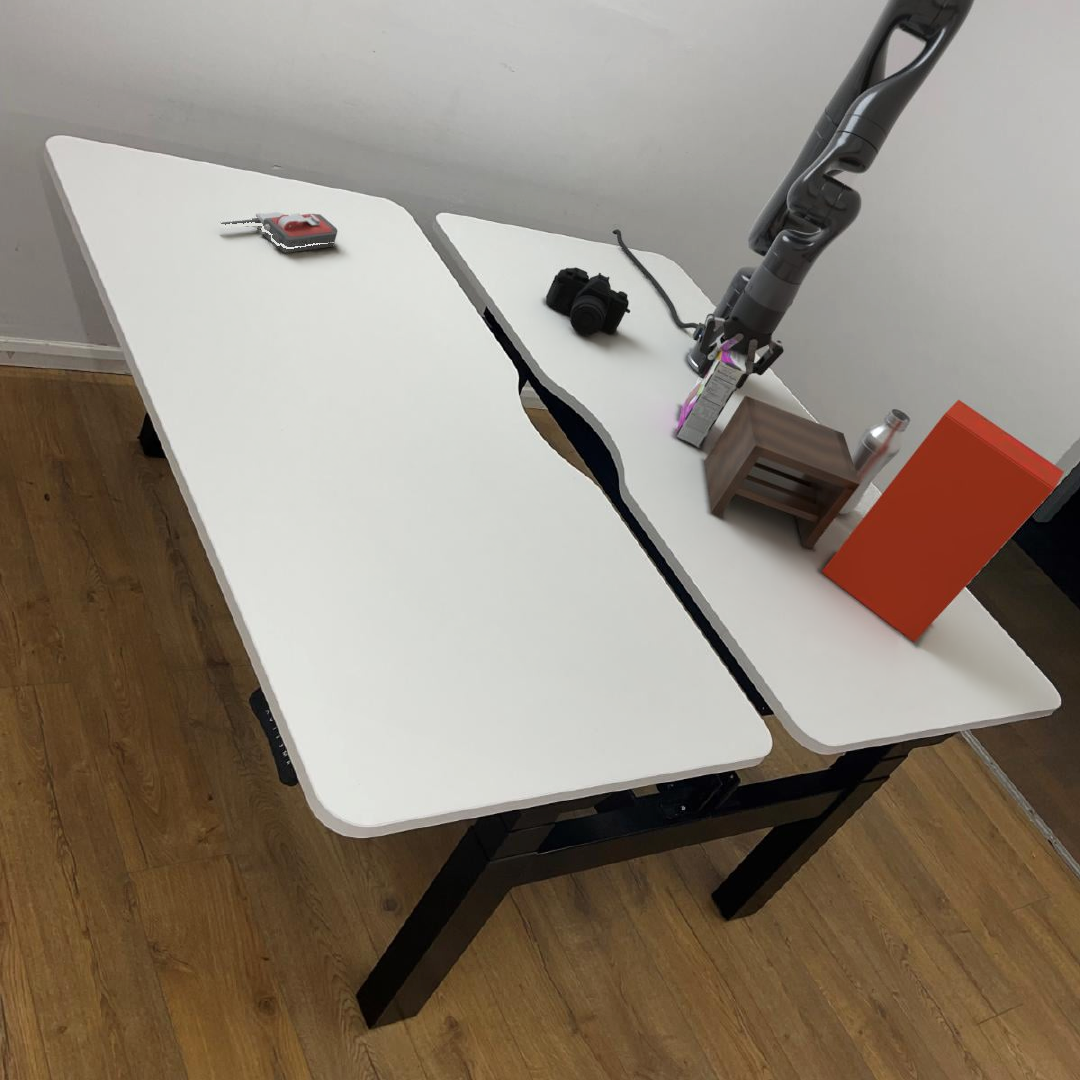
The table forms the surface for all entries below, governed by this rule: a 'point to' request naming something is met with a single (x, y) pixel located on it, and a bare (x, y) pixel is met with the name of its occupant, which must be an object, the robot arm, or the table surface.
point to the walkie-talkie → (295, 230)
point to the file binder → (941, 520)
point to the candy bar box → (710, 396)
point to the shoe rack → (782, 466)
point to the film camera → (587, 301)
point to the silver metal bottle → (876, 452)
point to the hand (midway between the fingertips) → (716, 381)
